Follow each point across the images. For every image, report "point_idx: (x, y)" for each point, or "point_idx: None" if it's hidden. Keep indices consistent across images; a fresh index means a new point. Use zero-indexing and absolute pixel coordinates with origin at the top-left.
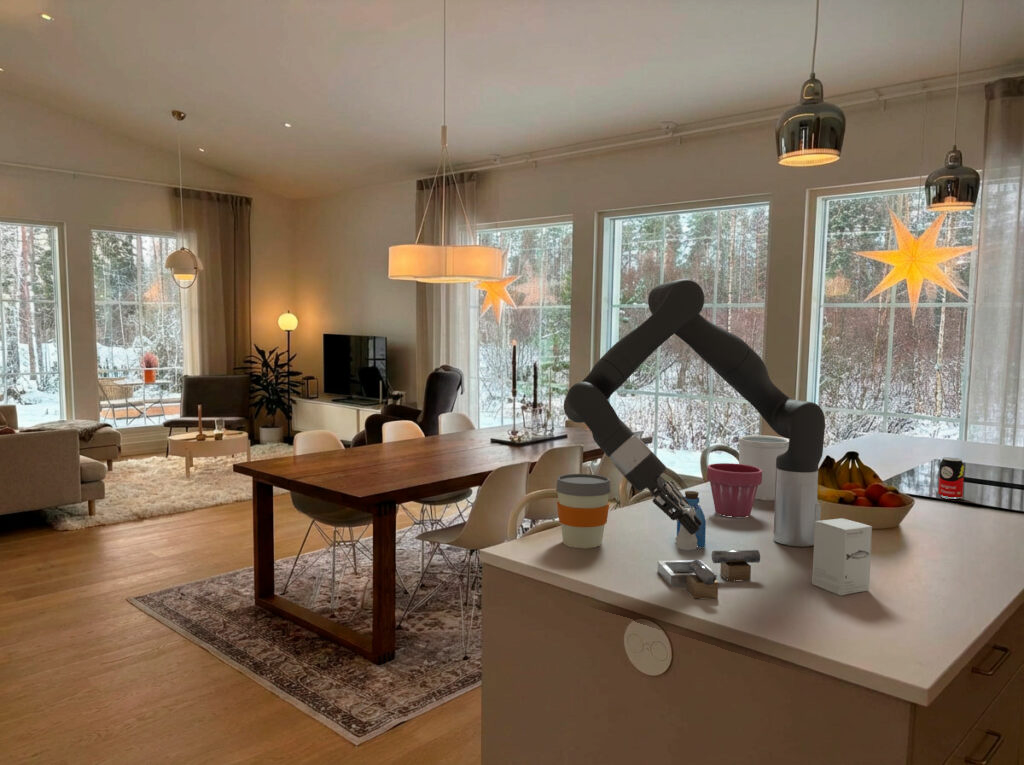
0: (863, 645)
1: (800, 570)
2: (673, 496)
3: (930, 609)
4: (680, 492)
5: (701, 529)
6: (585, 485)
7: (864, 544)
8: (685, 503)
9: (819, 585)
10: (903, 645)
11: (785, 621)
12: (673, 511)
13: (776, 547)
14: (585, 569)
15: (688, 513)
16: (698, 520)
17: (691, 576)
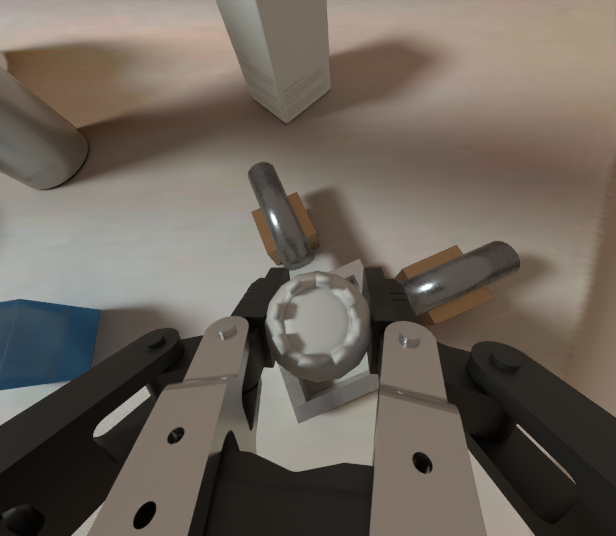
0: (540, 58)
1: (216, 143)
2: (475, 523)
3: (342, 12)
4: (25, 412)
5: (47, 314)
6: None
7: None
8: (224, 344)
9: (297, 112)
10: (505, 25)
11: (501, 146)
12: (375, 429)
13: (90, 183)
14: None
15: (367, 313)
16: (283, 276)
17: (443, 311)
